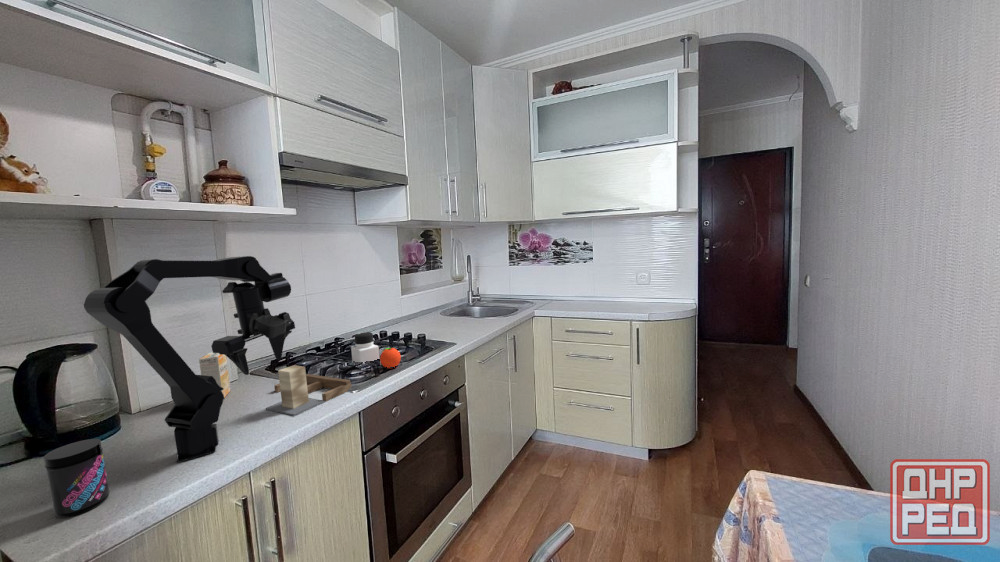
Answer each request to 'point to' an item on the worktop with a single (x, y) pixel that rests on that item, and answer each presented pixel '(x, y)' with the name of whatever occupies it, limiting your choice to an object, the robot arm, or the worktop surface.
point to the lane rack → (324, 385)
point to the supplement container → (77, 477)
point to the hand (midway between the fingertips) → (263, 366)
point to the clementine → (390, 357)
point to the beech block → (293, 386)
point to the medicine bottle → (364, 348)
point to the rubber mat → (295, 411)
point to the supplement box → (216, 369)
